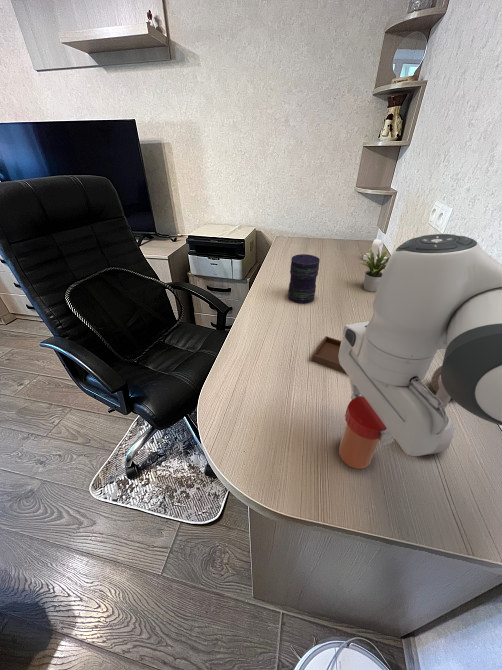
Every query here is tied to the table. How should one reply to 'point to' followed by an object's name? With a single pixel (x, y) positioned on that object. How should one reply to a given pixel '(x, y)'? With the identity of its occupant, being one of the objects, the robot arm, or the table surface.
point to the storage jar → (303, 278)
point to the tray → (328, 354)
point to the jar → (356, 449)
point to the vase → (436, 379)
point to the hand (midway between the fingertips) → (369, 419)
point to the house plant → (374, 270)
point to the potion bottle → (449, 428)
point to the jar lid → (363, 419)
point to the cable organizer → (375, 250)
